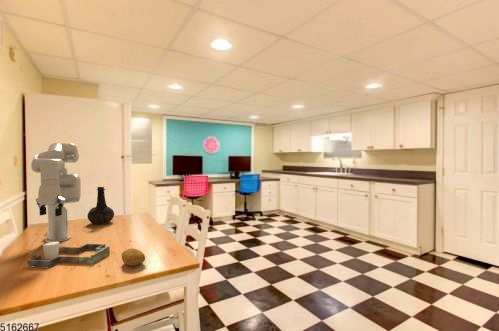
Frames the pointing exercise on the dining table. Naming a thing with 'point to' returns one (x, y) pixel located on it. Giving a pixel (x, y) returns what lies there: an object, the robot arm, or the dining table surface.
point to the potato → (133, 257)
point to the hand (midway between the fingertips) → (50, 215)
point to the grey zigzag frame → (100, 253)
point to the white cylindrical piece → (51, 249)
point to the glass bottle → (100, 210)
